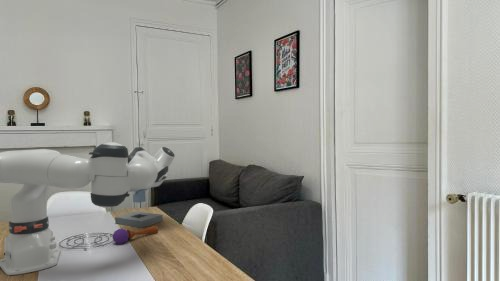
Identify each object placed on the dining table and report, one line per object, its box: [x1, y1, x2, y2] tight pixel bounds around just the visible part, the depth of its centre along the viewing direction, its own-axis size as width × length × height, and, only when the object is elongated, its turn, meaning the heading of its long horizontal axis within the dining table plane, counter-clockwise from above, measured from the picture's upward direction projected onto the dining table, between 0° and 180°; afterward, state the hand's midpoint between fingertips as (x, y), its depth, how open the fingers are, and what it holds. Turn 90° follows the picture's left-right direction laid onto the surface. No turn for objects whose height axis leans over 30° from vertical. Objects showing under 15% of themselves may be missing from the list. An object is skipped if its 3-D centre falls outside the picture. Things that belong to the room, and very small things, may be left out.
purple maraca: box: [112, 225, 159, 245], centre depth 145 cm, size 6×6×20 cm
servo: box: [132, 189, 147, 204], centre depth 172 cm, size 7×4×9 cm, turn 61°
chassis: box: [114, 210, 164, 228], centre depth 172 cm, size 18×14×3 cm
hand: (138, 192), depth 172 cm, fingers closed on servo, 4 cm apart
